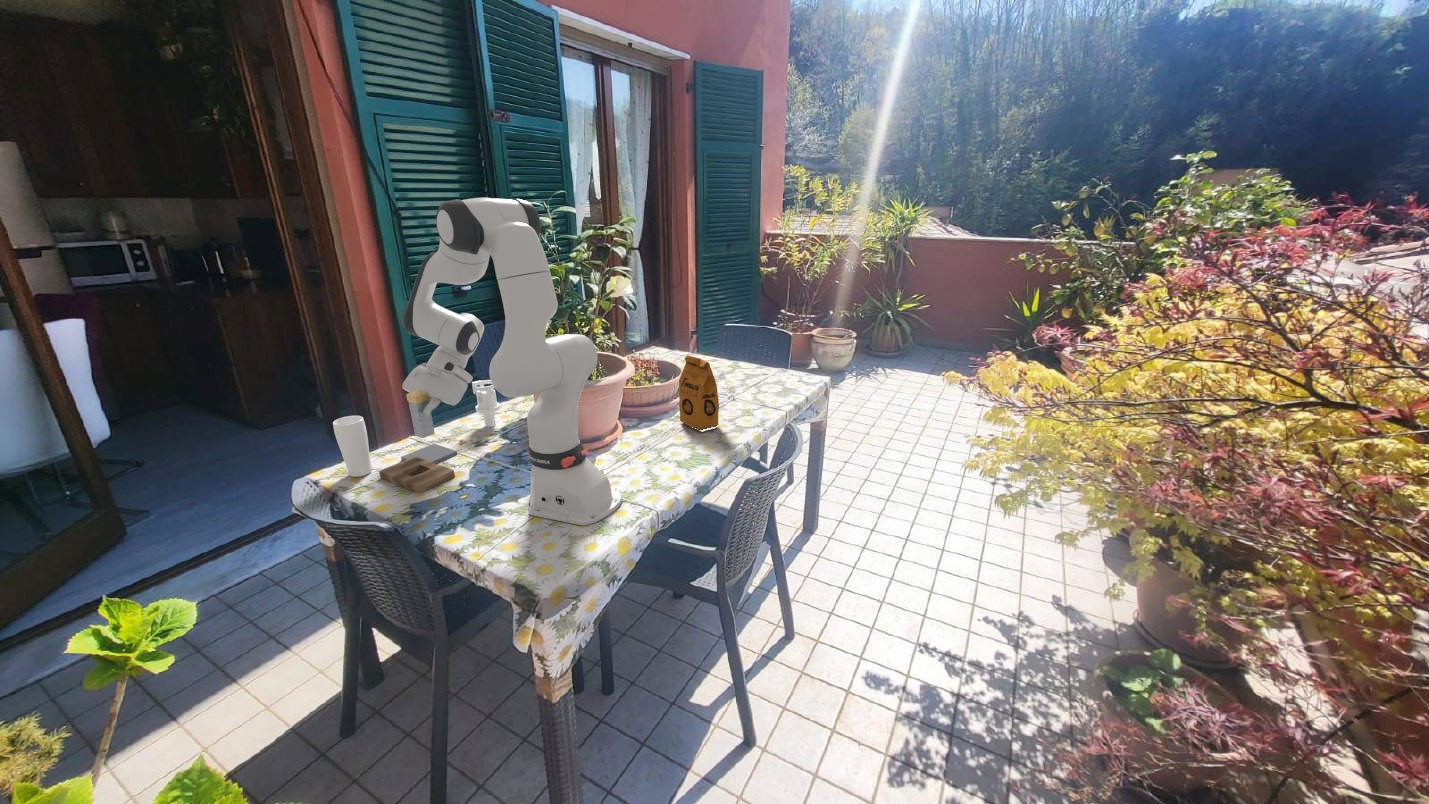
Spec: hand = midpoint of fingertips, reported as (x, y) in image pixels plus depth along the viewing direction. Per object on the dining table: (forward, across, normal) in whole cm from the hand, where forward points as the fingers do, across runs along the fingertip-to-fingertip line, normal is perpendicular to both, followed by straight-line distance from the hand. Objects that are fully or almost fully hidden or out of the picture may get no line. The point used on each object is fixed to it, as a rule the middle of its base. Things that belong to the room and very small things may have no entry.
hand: (418, 412), depth 152 cm
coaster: (+9, 0, +10) cm, 14 cm away
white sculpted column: (-8, -4, +27) cm, 28 cm away
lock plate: (+16, +8, +4) cm, 18 cm away
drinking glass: (+20, -7, 0) cm, 21 cm away
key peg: (+4, 0, +5) cm, 7 cm away
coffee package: (-31, +53, +50) cm, 80 cm away
